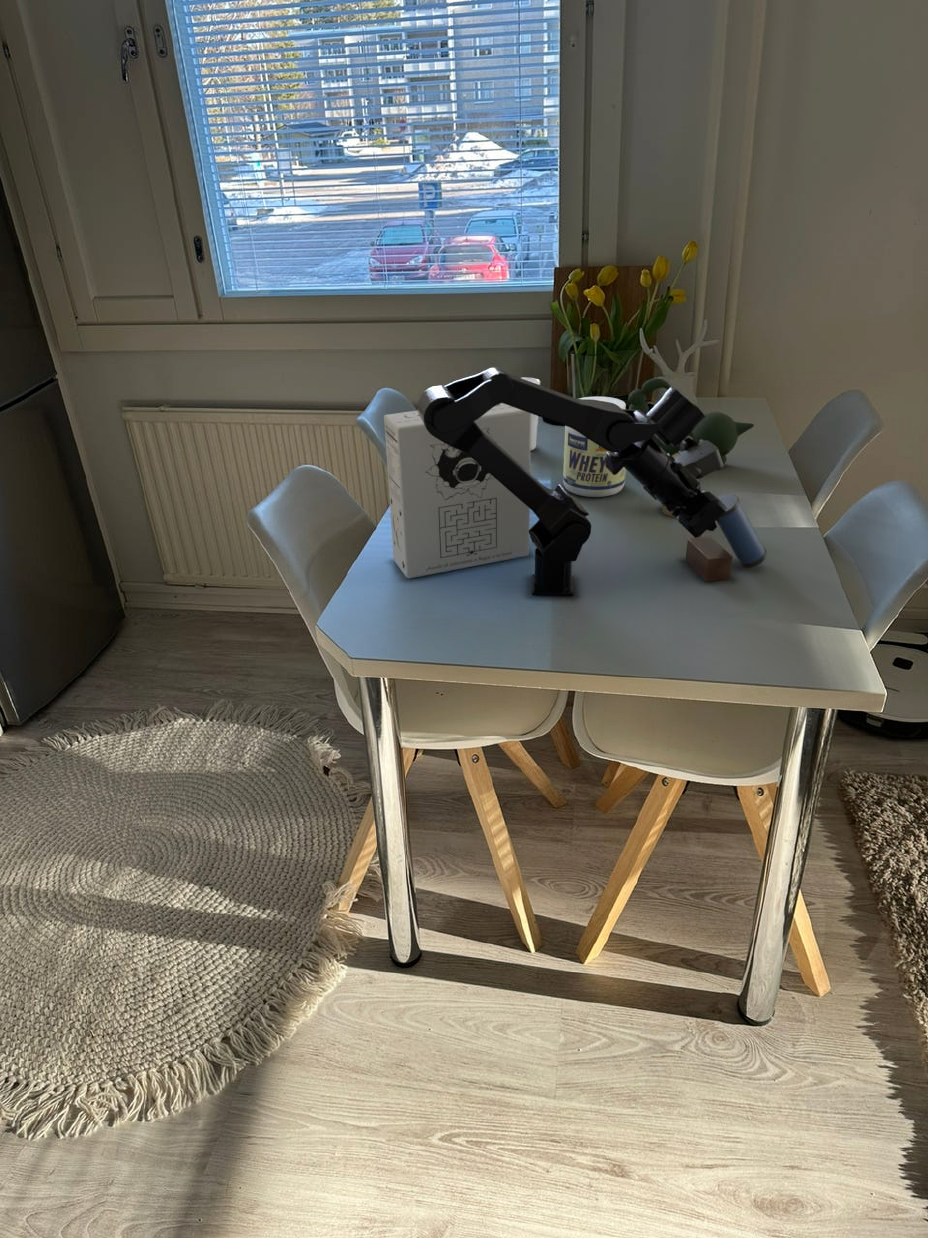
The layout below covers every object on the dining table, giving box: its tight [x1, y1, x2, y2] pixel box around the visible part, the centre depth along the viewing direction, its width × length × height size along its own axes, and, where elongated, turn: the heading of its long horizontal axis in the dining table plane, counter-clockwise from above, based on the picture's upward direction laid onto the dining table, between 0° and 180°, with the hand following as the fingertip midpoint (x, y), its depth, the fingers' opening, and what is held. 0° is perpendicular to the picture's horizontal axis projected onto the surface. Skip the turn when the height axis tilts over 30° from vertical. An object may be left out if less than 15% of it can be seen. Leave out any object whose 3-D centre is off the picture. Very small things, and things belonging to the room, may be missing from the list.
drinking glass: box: [521, 377, 541, 452], centre depth 192 cm, size 7×7×15 cm
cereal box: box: [383, 403, 531, 579], centre depth 141 cm, size 22×8×25 cm, turn 111°
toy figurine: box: [627, 377, 755, 465], centre depth 180 cm, size 9×19×25 cm
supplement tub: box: [562, 396, 627, 498], centre depth 170 cm, size 12×12×17 cm
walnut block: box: [684, 535, 733, 583], centre depth 140 cm, size 4×8×4 cm, turn 11°
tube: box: [715, 493, 768, 569], centre depth 139 cm, size 12×5×12 cm, turn 101°
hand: (714, 528), depth 138 cm, fingers closed, pressing on tube
